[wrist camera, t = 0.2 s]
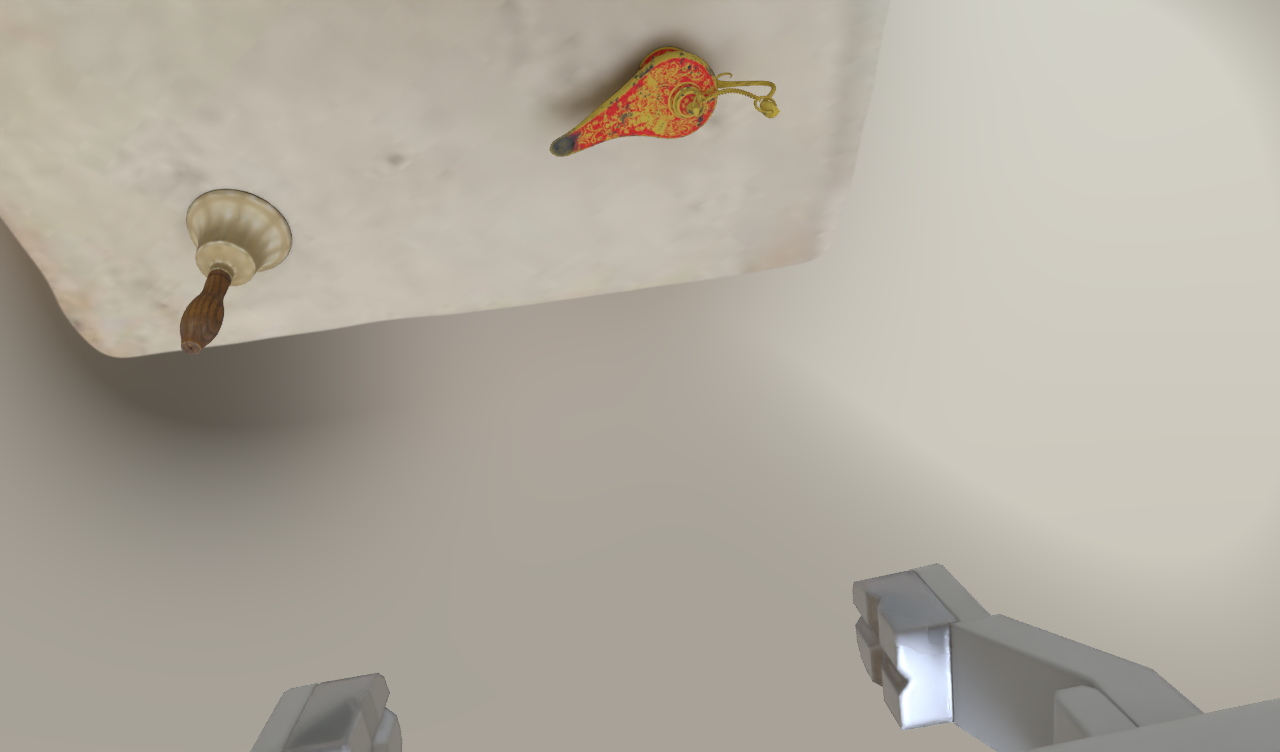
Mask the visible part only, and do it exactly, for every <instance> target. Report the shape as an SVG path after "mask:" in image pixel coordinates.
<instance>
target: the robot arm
mask: <svg viewBox="0 0 1280 752" xmlns="http://www.w3.org/2000/svg"><path fill="white" fill-rule="evenodd" d="M853 602H854V604H855V606H856V608H857V609H858V611H859V612H860V614H861V617H860V619H859V620H858V622H857V624H856V634H857V643H858V647H859V650H860V654H861V658H862V661H863V663H864V666H865V668H866V670H867V672H868V674H869V675H870V677H871V679H872V681H873V682H875V683H877V684H879V685H880V686H882V687H883V692H884V701H885V703H886V704H887V706H888V708H889V710H890V711H891V713H892V714H893V716H894V718H895V719H896V721H897V723H898V724H899V726H900V728H901V729H902V730H908V729H914V728H920V727H925V726H931V725H937V724H942V723H948V722H955V724H956V725H957V726H958V727H960V728H961V729H963V730H965V731H966V732H968V733H969V734H971V735H972V736H974V737H975V738H977V739H979V740H980V741H982V742H983V743H985V744H986V745H988V746H990V747H991V748H992V749H994V750H996V751H997V752H1280V698H1278V699H1273V700H1268V701H1263V702H1258V703H1253V704H1249V705H1244V706H1239V707H1234V708H1229V709H1225V710H1219V711H1214V712H1210V713H1203V712H1202V711H1201V710H1200V709H1199V708H1197V707H1196V706H1195V705H1194V704H1193V703H1192V702H1190V701H1189V700H1188V699H1187V698H1186V697H1185V696H1183V695H1182V694H1181V693H1180V692H1178V690H1176V689H1175V688H1174V687H1173V686H1172V685H1170V684H1169V683H1168V682H1167V681H1166V680H1165V679H1163V678H1162V677H1161V676H1160V675H1159V674H1157V672H1155V671H1154V670H1153V669H1150V668H1148V667H1145V666H1142V665H1139V664H1137V663H1134V662H1131V661H1128V660H1126V659H1123V658H1120V657H1117V656H1115V655H1112V654H1109V653H1106V652H1103V651H1101V650H1098V649H1095V648H1092V647H1090V646H1087V645H1084V644H1081V643H1078V642H1076V641H1073V640H1070V639H1067V638H1064V637H1062V636H1059V635H1056V634H1053V633H1051V632H1048V631H1045V630H1042V629H1040V628H1037V627H1034V626H1031V625H1028V624H1026V623H1023V622H1020V621H1017V620H1014V619H1012V618H1009V617H1006V616H1004V615H1001V614H998V615H992V616H991V615H990V614H989V613H988V612H987V611H986V610H985V609H984V608H983V607H982V606H981V605H980V604H979V603H978V602H977V600H975V598H974V597H972V595H971V594H970V593H969V592H968V591H967V590H966V589H965V588H964V587H963V586H962V585H961V584H960V583H959V582H958V581H957V580H956V579H955V578H954V577H953V576H952V575H951V574H950V573H949V572H948V571H947V570H946V569H945V567H944V566H943V565H940V564H937V563H936V564H932V565H928V566H923V567H919V568H915V569H910V570H909V571H904V572H899V573H894V574H890V575H885V576H880V577H875V578H870V579H866V580H861V581H856V582H854V584H853ZM389 694H390V692H389V689H388V687H387V684H386V681H385V678H384V676H382V675H380V674H379V673H375V674H370V675H364V676H357V677H352V678H345V679H340V680H334V681H328V682H322V683H320V684H311V685H306V686H301V687H296V688H291V689H289V690H287V691H286V692H284V693H283V695H282V697H281V698H280V700H279V702H278V704H277V705H276V707H275V709H274V711H273V713H272V714H271V716H270V718H269V720H268V721H267V723H266V725H265V727H264V728H263V730H262V732H261V734H260V735H259V737H258V739H257V741H256V743H255V744H254V746H253V748H252V750H251V751H250V752H402V737H401V730H400V725H399V722H398V718H397V715H396V714H394V713H393V712H392V711H390V710H389V709H387V708H386V707H385V706H386V703H387V700H388V697H389Z"/></svg>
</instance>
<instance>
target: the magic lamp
mask: <svg viewBox="0 0 1280 752" xmlns="http://www.w3.org/2000/svg"><path fill="white" fill-rule="evenodd" d="M723 75H731V77H732V74H731V73H722V74H719V75H717V76H716V77H715V75H714V73H713V71H712V69H711V68H710V66H709V65H708V64H707V63H706V62H705V61H704V60H702V59H701V58H700V57H698V56H696V55H694V54H692V53H688V52H684V51H683V50H681V49H678V48H675V47H663V48H659V49H656V50H654V51H653V52H651V53H650V54H648V55H647V56H646V57H645V58H644V60H643V61H642V62H641V64H640V66H639V68H638V72H637V74H636V75H635V76H634V77H633V78H632V79H631V80H629V81H628V82H627V83H626V84H625V85H624V86H623V87H622V88H620V89H619V90H618V91H617V92H616V93H615V94H613V95H612V96H611V97H610V98H609V99H608V100H606V101H605V102H604V103H603V104H602V105H600V106H599V107H598V108H597V109H596V110H595V111H594V112H592V113H591V114H590V115H589V116H588V117H587V118H586V119H584V120H583V121H582V122H581V123H580V124H578V125H577V126H576V127H575V128H573V129H572V130H570V131H569V132H568V133H566V134H565V135H563V136H561V137H559V138H558V139H556V140H555V141H553V143H552V144H551V146H550V152H551V153H552V154H554V155H556V156H561V157H563V156H568V155H571V154H574V153H576V152H579V151H581V150H584V149H586V148H589V147H591V146H594V145H596V144H599V143H602V142H604V141H607V140H611V139H614V138H619V137H626V136H650V137H657V138H666V139H671V138H680V137H684V136H687V135H689V134H691V133H693V132H695V131H696V130H698V129H699V128H700V127H702V126H703V125H704V124H705V123H706V122H707V120H708V119H709V118H710V116H711V115H712V113H713V111H714V109H715V106H716V103H717V97H718V95H720V94H723V93H725V94H726V92H727V93H729V92H730V93H732V92H733V93H735V92H736V93H737V94H738V92H739V94H741V93H742V95H743V94H744V95H745V96H746V95H747V96H748V97H749V96H750V98H752V97H753V99H755V98H756V99H755V101H754V106H755V108H756V109H757V110H758V111H759V112H761V113H763V114H764V115H765V116H766V117H768V118H774V117H775V116H776V115H777V114H778V113H779V112H780V111H779V110H778V108H777V107H776V106H777V105H776V103H775V101H774V100H773V99H772V98H771V97H772V96H773V94H774V93H775V90H776V86H775V84H774V83H772V82H769V81H720V80H718V79H717V78H719V77H720V76H723ZM731 77H730V78H731ZM750 85H764V86H770V87H772V89H771V91H770V93H769V94H768V95H767V96H760V97H758V96H756V95H753V94H751V93H749V92H747V91H744V90H739V89H733V88H731V89H730V88H729V89H723V90H722V89H721V90H720V91H719V90H718V88H726V87H736V86H750ZM761 99H764V100H763V101H762V102H761ZM758 100H759V102H761V103H760V108H761V109H759V108H758V107H757V105H756V103H757V101H758ZM768 100H770V101H772V102H773V103H772V102H770V101H768Z"/></svg>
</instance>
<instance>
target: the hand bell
mask: <svg viewBox="0 0 1280 752" xmlns="http://www.w3.org/2000/svg"><path fill="white" fill-rule="evenodd" d="M186 224H187V229H188V232H189V235H190V237H191V240H192V241H193V243H194V244H195V246H196V247H197V248H198V249H197V252H196V263H197V266H198V268H199V270H200V271H201V272H202V274H203V275H204V276H206V277H207V280H206V283H205V286H204V288H203V291H202V292H201V294H200V295H198V296H197V297H196V298H195V299H194V300H193V301H192V302H191V303H190V304H189V305H188V307H187V308H186V310H185V312H184V314H183V316H182V319H181V323H180V334H181V348H182V350H183V351H185V353H187V354H191V355H195V354H198V353H200V352H201V350H202V349H203V348H204V347H205V346H206V345H207V344H209V343H210V342H211V341H212V340H213V339H214V338H215V337H216V335H217V334H218V332H219V330H220V328H221V325H222V322H223V317H224V305H223V299H224V296H225V294H226V292H227V290H228V287H229V286H238V285H242V284H245V283H247V282H248V281H250V280H251V279H252V278H253V276H254V274H255V273H256V272H261V271H265V270H268V269H271V268H274V267H276V266H277V265H279V264H280V263H281V262H283V261H284V259H285V258H286V257H287V255H288V254H289V252H290V249H291V243H292V237H291V232H290V229H289V226H288V224H287V222H286V221H285V219H284V218H283V216H282V215H281V214H280V213H279V212H278V211H277V210H276V209H275V208H274V207H273V206H272V205H270V204H269V203H268V202H266V201H265V200H263V199H261V198H259V197H257V196H255V195H252V194H249V193H246V192H242V191H238V190H224V189H223V190H216V191H211V192H208V193H206V194H203V195H202V196H200V197H199V198H197V199H196V200H195V201H194V202H193V203H192V204H191V206H190V207H189V210H188V213H187V217H186Z"/></svg>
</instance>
